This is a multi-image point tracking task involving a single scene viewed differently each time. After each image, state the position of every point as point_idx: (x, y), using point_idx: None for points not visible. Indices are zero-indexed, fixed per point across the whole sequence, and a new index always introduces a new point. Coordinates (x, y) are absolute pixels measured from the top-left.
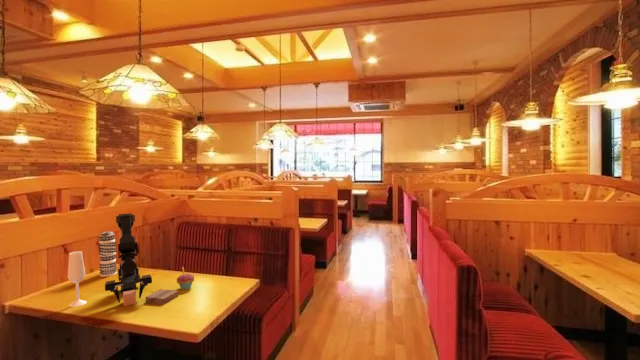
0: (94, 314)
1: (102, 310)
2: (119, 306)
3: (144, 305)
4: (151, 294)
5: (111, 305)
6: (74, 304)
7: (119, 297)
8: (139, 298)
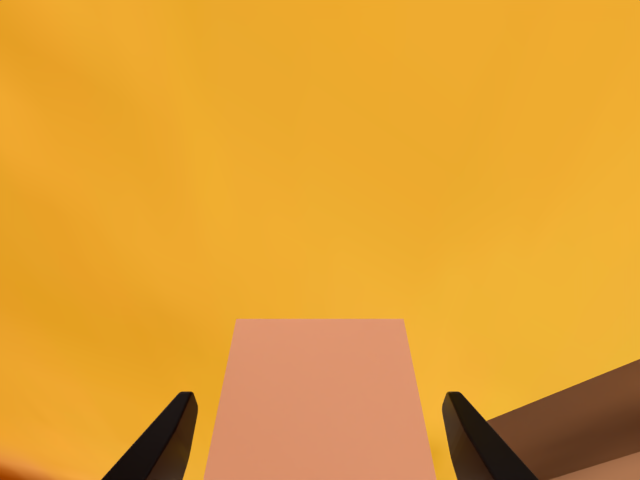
0: (4, 446)
1: (41, 411)
2: (207, 400)
3: (446, 461)
4: (607, 469)
5: (92, 345)
6: None
7: (172, 473)
8: (445, 414)
